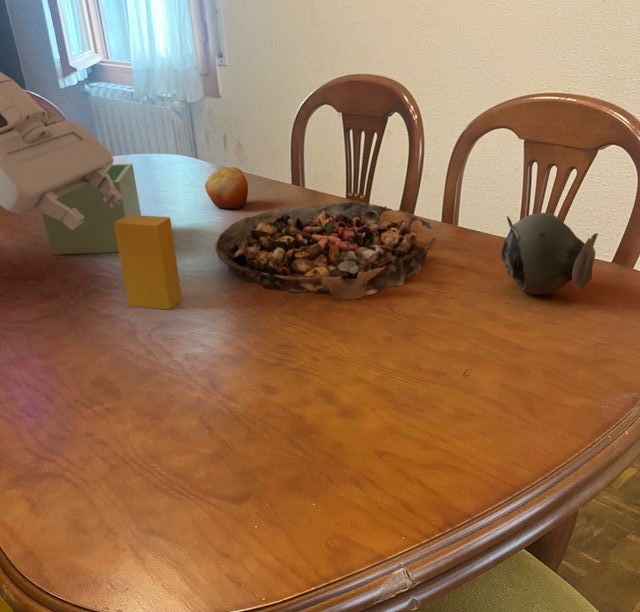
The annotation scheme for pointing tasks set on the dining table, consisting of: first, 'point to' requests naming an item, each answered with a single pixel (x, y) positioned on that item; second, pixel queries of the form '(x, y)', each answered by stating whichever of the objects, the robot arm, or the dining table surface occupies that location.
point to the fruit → (227, 188)
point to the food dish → (324, 249)
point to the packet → (148, 261)
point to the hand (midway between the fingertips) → (100, 213)
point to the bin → (94, 216)
